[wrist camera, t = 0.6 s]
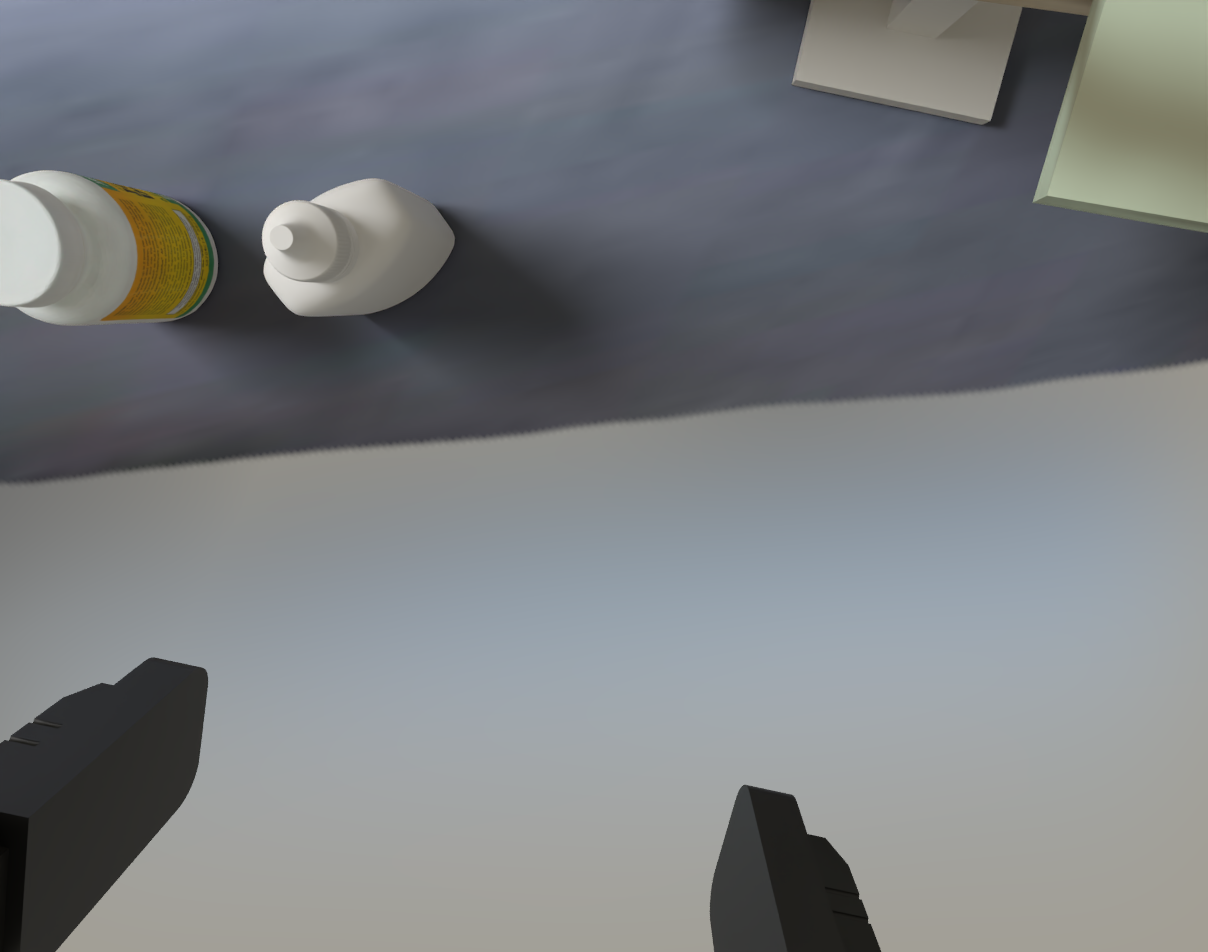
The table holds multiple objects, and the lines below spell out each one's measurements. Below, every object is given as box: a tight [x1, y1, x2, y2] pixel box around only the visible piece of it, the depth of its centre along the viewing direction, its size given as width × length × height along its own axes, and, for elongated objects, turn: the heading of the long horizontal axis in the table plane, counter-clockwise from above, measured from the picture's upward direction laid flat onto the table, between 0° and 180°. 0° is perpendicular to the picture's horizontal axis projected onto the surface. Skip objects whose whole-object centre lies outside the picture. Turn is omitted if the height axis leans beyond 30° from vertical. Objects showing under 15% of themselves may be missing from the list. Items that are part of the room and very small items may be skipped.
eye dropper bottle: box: [262, 178, 455, 317], centre depth 30 cm, size 4×6×12 cm
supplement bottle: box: [0, 170, 218, 325], centre depth 31 cm, size 5×5×10 cm
